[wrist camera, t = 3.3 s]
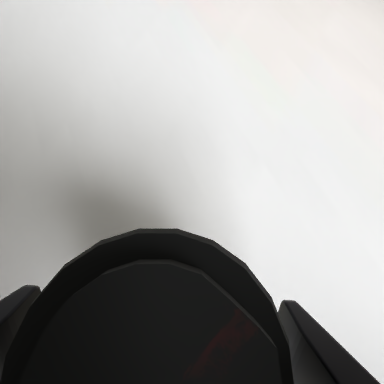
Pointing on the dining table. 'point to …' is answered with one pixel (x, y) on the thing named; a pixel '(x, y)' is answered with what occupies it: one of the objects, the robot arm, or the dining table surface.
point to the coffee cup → (151, 318)
